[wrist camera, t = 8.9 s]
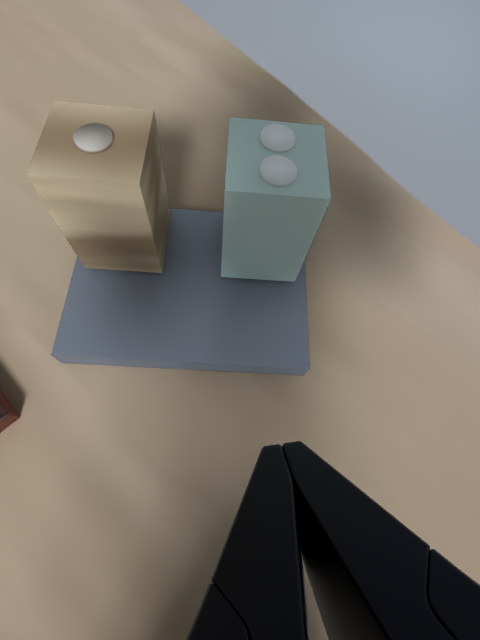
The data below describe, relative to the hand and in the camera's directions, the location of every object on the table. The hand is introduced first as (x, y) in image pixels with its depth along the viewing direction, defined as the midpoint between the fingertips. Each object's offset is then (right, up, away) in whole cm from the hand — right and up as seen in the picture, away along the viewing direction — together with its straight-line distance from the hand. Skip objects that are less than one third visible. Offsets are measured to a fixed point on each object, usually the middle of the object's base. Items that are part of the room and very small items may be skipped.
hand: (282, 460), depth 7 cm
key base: (-4, +5, +15) cm, 16 cm away
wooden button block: (-8, +8, +14) cm, 18 cm away
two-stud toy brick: (0, +8, +14) cm, 16 cm away
